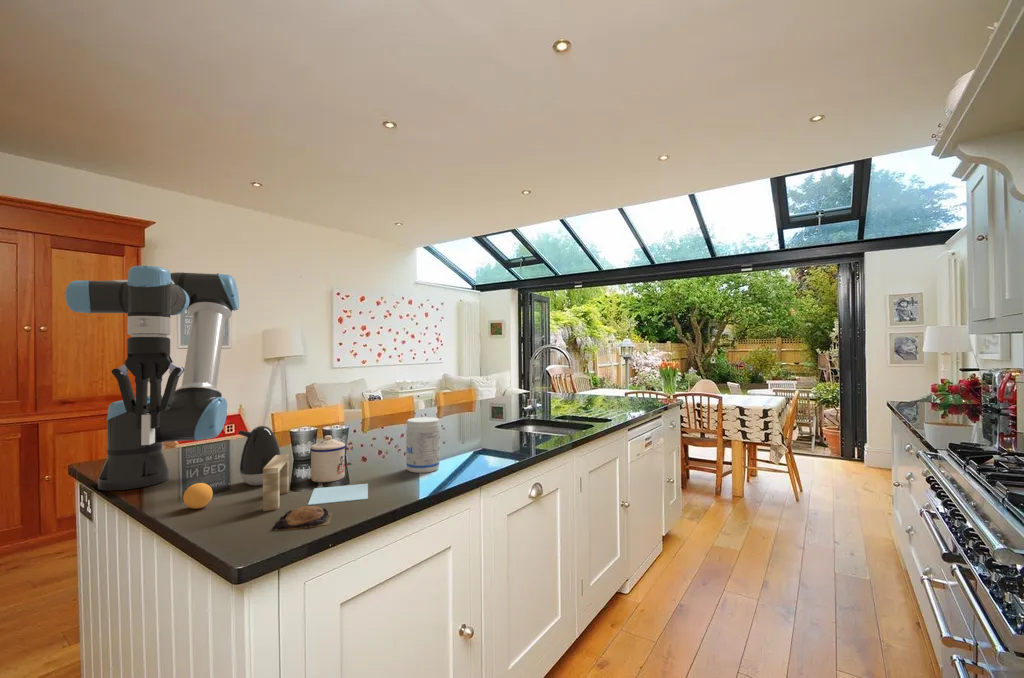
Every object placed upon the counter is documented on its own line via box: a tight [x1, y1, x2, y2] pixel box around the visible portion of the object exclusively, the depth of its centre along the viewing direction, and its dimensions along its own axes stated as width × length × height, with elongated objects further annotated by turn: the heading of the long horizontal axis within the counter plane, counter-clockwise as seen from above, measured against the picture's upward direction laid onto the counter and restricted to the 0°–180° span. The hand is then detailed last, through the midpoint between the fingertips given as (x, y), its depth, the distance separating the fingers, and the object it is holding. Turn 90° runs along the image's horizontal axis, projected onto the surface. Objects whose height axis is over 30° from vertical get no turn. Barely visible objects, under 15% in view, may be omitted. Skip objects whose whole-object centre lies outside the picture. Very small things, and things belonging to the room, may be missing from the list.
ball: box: [183, 482, 214, 510], centre depth 104 cm, size 6×6×6 cm
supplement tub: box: [406, 416, 440, 474], centre depth 136 cm, size 10×10×15 cm
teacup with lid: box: [309, 434, 346, 483], centre depth 129 cm, size 12×9×12 cm
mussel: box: [272, 505, 333, 532], centre depth 95 cm, size 11×8×4 cm
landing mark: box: [307, 483, 369, 506], centre depth 113 cm, size 13×13×1 cm
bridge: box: [262, 453, 290, 512], centre depth 109 cm, size 3×14×9 cm, turn 17°
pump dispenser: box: [238, 425, 282, 487], centre depth 124 cm, size 10×10×15 cm
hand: (148, 443), depth 102 cm, fingers closed
